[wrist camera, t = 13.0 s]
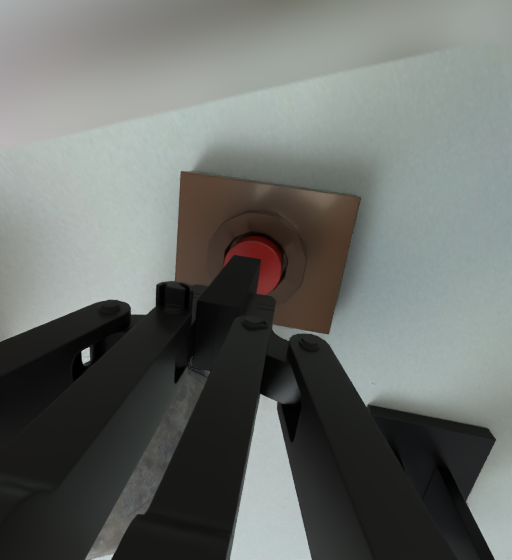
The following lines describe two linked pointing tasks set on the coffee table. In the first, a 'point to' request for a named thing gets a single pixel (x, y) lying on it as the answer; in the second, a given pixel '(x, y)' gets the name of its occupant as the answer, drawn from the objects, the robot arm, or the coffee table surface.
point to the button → (269, 260)
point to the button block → (276, 227)
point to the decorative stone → (149, 467)
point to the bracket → (441, 471)
